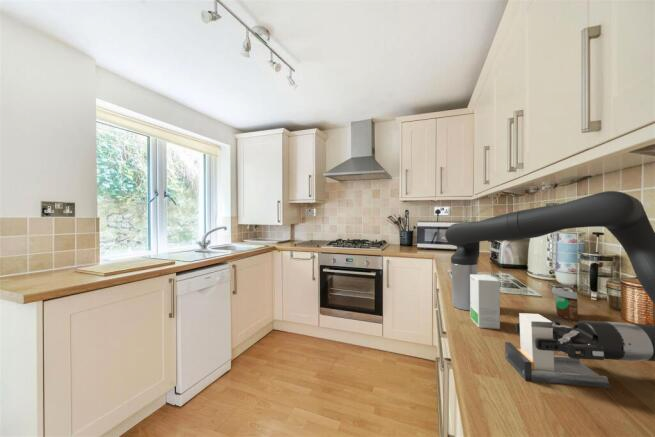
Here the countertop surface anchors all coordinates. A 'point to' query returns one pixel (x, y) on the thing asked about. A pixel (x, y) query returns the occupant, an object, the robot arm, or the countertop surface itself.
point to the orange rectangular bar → (528, 359)
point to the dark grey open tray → (555, 370)
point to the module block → (529, 331)
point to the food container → (566, 302)
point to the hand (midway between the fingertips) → (525, 335)
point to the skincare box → (485, 301)
